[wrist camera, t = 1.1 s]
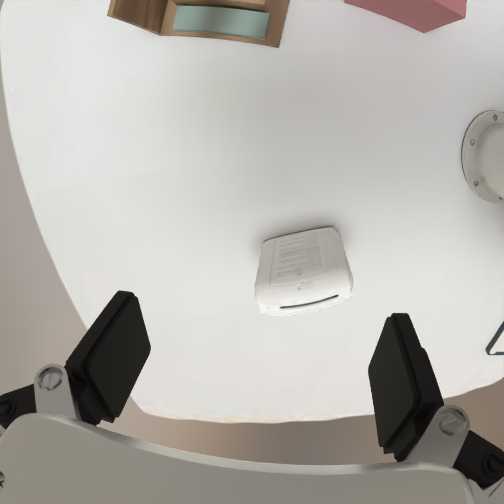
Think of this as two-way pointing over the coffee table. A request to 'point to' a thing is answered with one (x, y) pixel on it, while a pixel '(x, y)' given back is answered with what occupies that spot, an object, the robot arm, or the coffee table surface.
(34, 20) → the coffee table surface
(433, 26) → the book
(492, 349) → the phone case
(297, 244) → the photo printer
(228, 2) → the shelf
